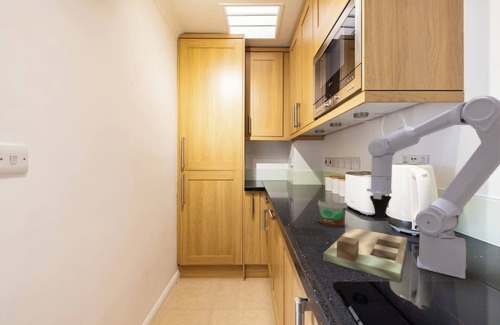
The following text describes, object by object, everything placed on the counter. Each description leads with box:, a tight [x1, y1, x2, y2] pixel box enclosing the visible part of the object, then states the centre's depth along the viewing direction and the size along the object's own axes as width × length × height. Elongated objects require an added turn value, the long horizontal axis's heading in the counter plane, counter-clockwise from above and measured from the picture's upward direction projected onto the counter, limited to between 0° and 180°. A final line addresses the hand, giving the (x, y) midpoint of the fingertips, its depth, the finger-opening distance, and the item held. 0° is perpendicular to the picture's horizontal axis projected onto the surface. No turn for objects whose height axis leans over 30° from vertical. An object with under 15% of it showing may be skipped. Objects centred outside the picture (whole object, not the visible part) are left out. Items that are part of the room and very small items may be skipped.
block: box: [336, 235, 359, 262], centre depth 63 cm, size 4×4×4 cm
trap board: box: [322, 227, 408, 283], centre depth 71 cm, size 18×30×2 cm, turn 143°
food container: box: [317, 199, 348, 228], centre depth 98 cm, size 12×6×10 cm, turn 62°
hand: (380, 218), depth 74 cm, fingers closed
